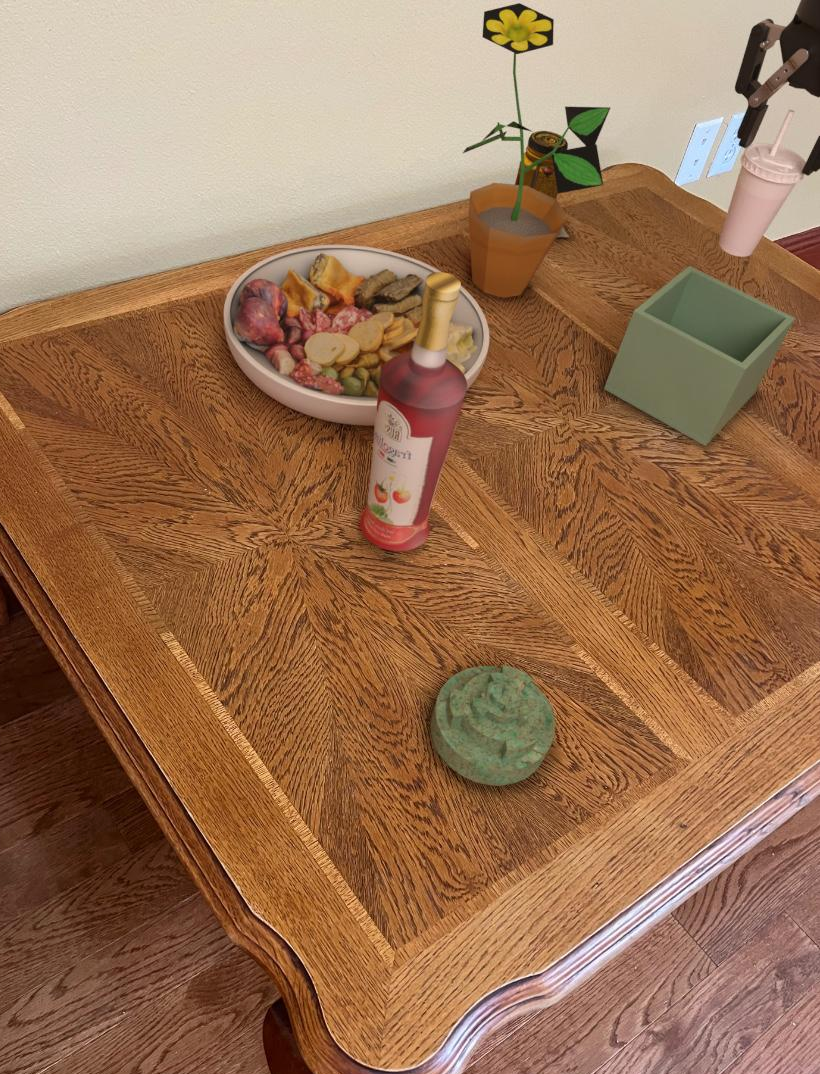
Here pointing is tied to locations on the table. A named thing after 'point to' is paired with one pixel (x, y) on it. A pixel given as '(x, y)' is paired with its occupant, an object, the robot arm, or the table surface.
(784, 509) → the table surface
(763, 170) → the smoothie
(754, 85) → the robot arm
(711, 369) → the bin
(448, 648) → the table surface
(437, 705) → the decorative artifact
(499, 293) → the potted plant
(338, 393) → the bowl
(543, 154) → the condiment
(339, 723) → the table surface
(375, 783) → the table surface
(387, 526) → the liquor
